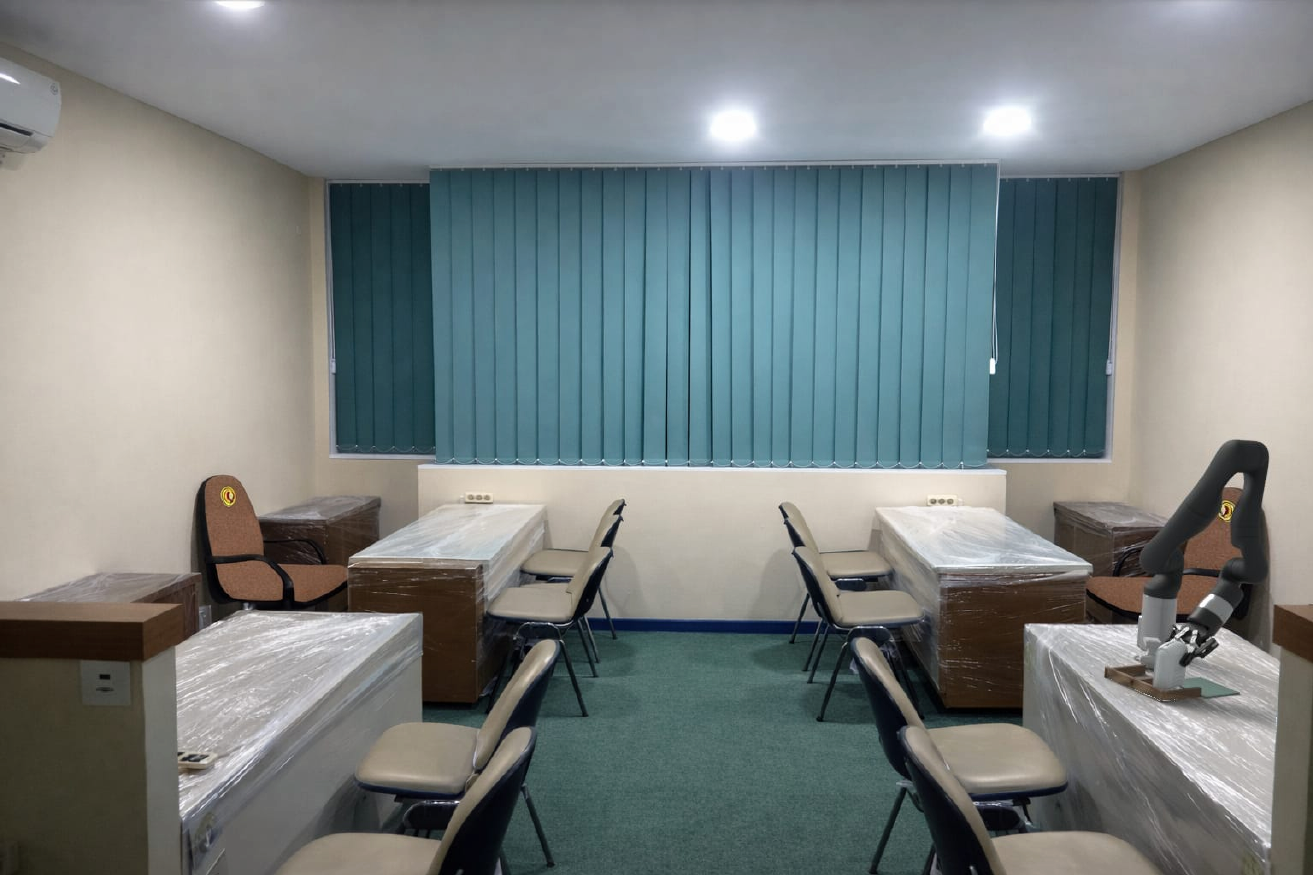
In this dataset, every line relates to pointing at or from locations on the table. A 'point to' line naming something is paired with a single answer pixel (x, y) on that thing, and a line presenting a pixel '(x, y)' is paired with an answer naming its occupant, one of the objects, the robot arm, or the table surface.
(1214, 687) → the mat
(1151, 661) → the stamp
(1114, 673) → the lane rack
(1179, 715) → the table surface
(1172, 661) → the photo printer
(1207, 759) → the table surface
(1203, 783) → the table surface
